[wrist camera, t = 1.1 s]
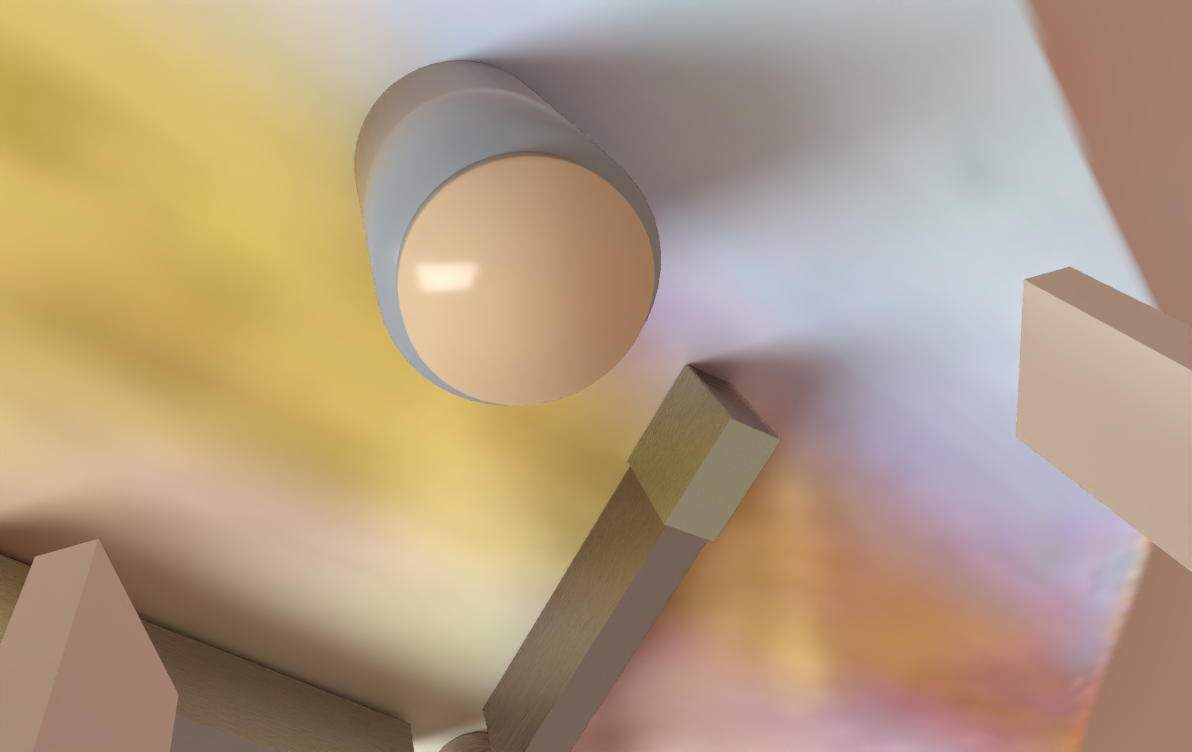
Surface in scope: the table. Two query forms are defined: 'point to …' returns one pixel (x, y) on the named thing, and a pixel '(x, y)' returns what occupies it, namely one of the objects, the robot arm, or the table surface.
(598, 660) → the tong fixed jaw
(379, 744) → the block
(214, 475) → the table surface
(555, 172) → the spice jar
